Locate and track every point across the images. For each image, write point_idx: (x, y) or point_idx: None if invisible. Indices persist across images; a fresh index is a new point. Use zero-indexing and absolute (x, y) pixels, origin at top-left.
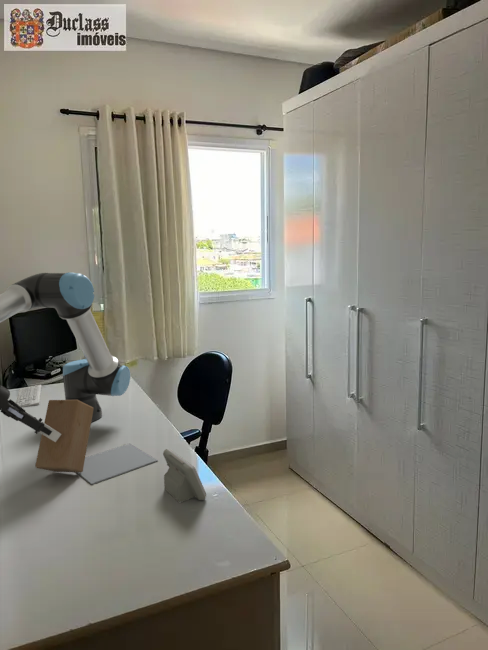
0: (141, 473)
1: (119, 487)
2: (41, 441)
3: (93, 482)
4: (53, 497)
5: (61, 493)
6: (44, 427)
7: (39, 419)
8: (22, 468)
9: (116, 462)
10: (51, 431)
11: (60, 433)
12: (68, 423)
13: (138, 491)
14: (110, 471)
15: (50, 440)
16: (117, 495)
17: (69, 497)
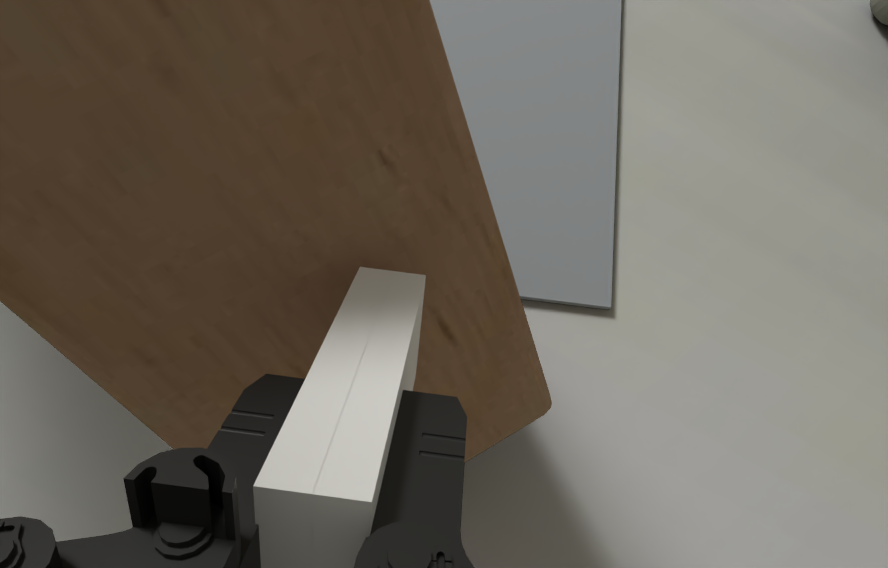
0: (684, 74)
1: (748, 227)
2: (189, 441)
3: (606, 292)
4: (582, 551)
5: (570, 487)
6: (457, 535)
7: (142, 502)
8: (7, 489)
9: (477, 82)
10: (462, 413)
11: (417, 280)
12: (385, 107)
13: (858, 191)
14: (552, 159)
15: (286, 373)
16: (826, 283)
17: (656, 479)
